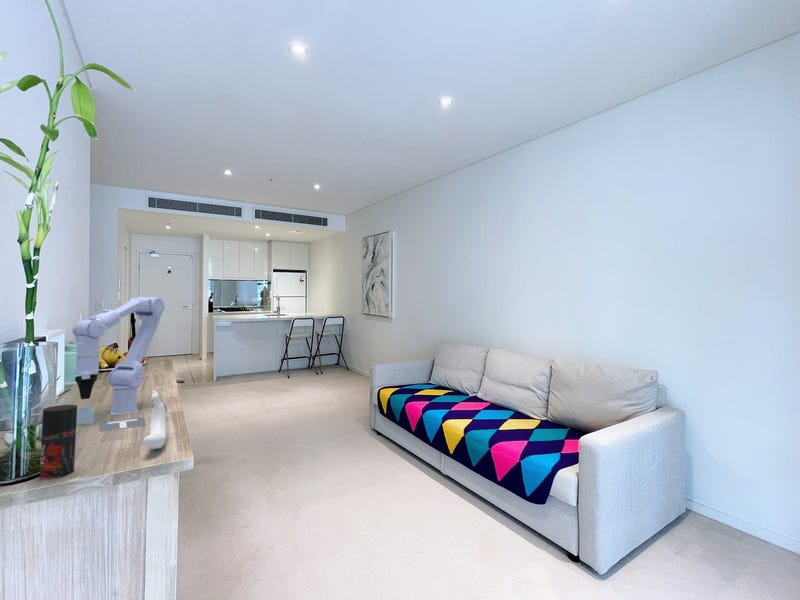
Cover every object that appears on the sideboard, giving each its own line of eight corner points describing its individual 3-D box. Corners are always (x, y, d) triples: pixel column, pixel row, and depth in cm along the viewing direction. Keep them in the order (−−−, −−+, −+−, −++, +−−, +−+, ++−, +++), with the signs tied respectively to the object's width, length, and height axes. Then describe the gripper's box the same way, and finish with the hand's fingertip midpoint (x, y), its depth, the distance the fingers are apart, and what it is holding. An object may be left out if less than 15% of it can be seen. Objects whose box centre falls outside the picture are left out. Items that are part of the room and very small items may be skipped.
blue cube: (74, 423, 126) (75, 408, 126) (94, 421, 129) (94, 406, 129) (73, 427, 122) (74, 411, 122) (93, 425, 125) (94, 409, 125)
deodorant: (80, 469, 91) (84, 405, 91) (55, 480, 85) (59, 411, 85) (58, 467, 91) (61, 404, 92) (31, 478, 85) (35, 410, 86)
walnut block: (152, 405, 132) (164, 404, 134) (152, 420, 131) (164, 418, 134) (154, 408, 128) (166, 407, 130) (153, 423, 127) (166, 422, 130)
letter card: (99, 423, 126) (99, 422, 126) (143, 418, 133) (143, 416, 133) (99, 433, 116) (99, 431, 116) (146, 427, 123) (146, 425, 123)
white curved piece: (141, 460, 96) (144, 402, 97) (147, 438, 113) (149, 388, 113) (164, 457, 99) (167, 400, 99) (166, 436, 115) (168, 387, 116)
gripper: (73, 354, 129) (71, 395, 129) (69, 359, 118) (67, 404, 117) (99, 353, 133) (97, 393, 133) (99, 358, 122) (97, 401, 122)
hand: (85, 398), depth 125 cm, fingers closed
